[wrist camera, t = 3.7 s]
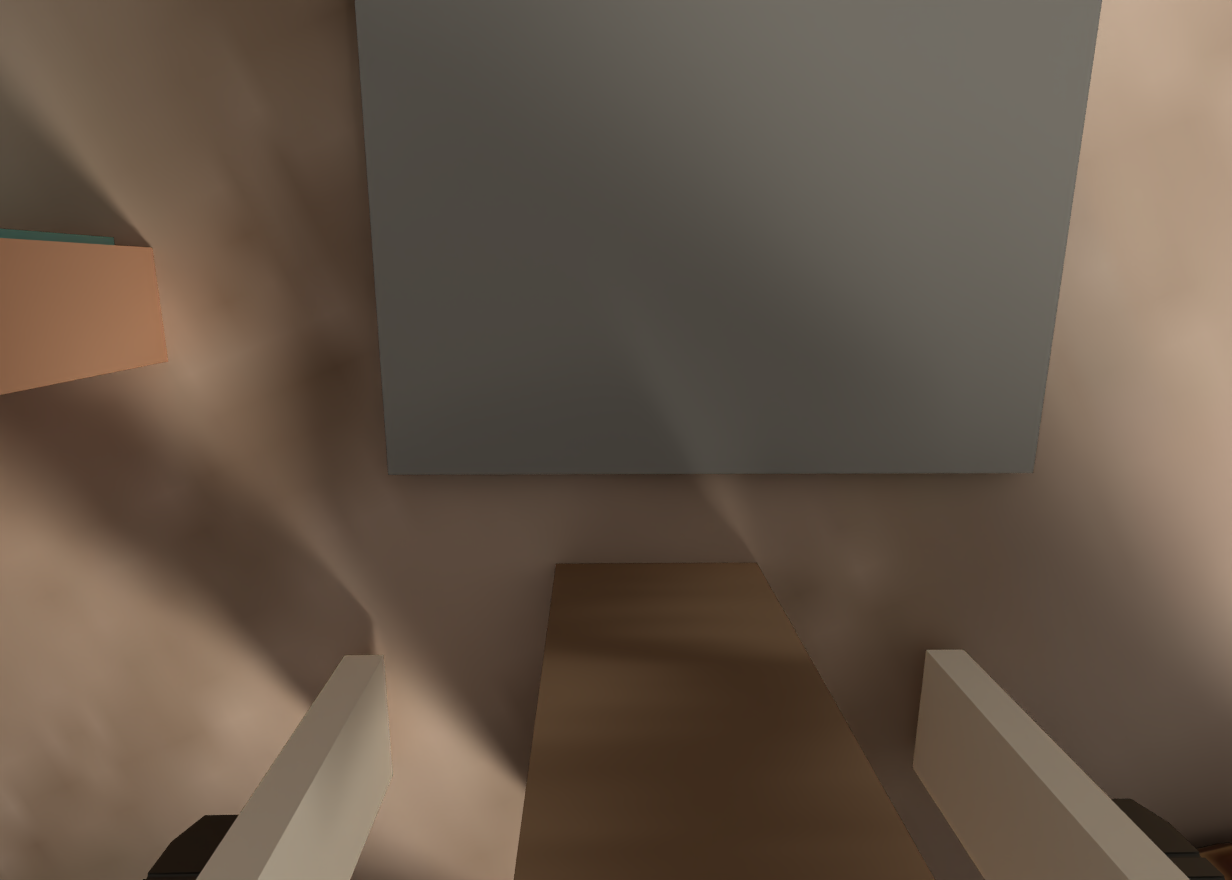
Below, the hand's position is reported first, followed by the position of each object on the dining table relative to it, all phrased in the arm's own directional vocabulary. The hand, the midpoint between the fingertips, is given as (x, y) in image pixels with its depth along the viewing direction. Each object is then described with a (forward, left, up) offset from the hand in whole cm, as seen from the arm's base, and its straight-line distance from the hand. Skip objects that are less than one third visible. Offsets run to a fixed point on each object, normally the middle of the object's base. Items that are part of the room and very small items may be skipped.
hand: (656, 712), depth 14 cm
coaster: (+1, +11, 0) cm, 11 cm away
